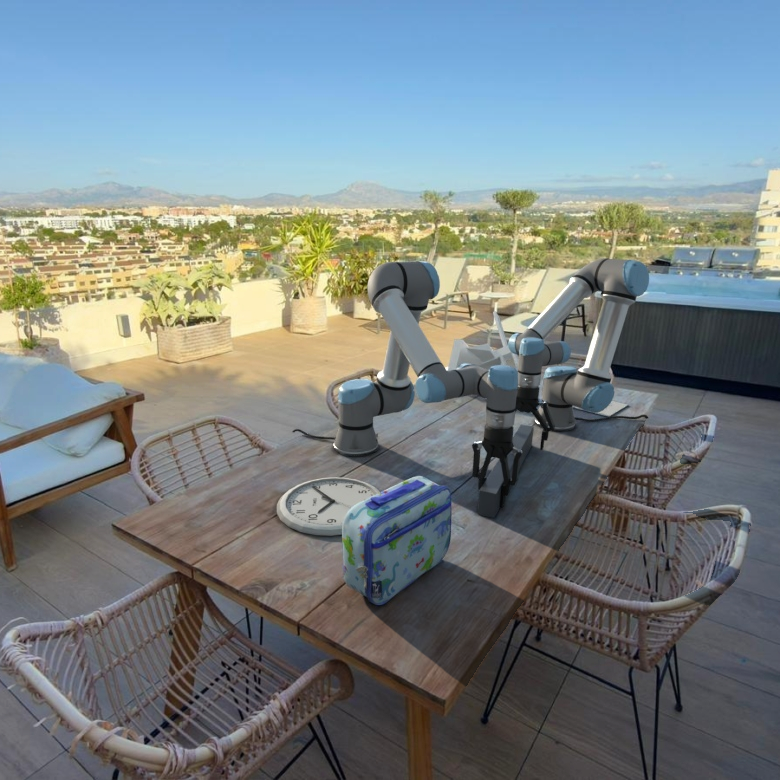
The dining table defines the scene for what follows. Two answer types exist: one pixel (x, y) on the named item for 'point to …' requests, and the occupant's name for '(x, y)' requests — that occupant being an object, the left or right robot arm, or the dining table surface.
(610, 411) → the invitation card
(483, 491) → the plank
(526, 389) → the right robot arm
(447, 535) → the lunch box
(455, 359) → the white plastic object
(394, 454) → the dining table surface
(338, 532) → the wall clock
